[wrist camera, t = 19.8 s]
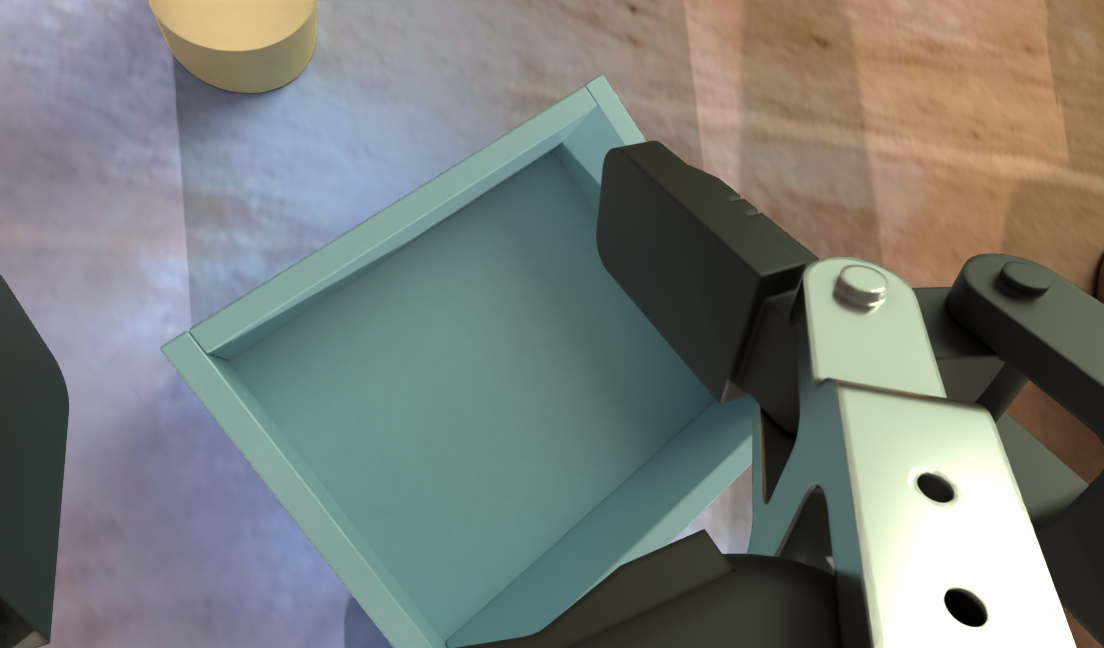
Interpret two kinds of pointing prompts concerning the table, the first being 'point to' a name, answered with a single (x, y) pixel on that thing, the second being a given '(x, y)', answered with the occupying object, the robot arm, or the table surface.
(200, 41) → the lidded cream canister
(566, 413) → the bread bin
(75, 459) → the table surface
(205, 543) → the table surface
